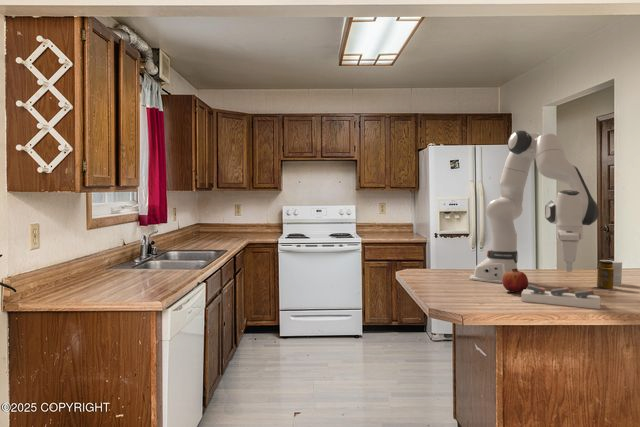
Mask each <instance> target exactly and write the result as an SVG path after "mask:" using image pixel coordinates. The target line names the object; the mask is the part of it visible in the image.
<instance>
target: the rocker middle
mask: <svg viewBox="0 0 640 427" xmlns="http://www.w3.org/2000/svg"><path fill="white" fill-rule="evenodd" d="M550 292H551V294H559V293H570V289H569V287H567V286H565V287H560V288H551V290H550Z"/></svg>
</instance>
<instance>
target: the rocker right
mask: <svg viewBox="0 0 640 427" xmlns="http://www.w3.org/2000/svg"><path fill="white" fill-rule="evenodd" d="M574 294H575V296H586V295H594V296H595V292H594V289H593V288H591V289H587V290H586V289H585V290H577V291H576V290H575V291H574Z"/></svg>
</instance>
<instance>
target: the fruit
mask: <svg viewBox="0 0 640 427" xmlns="http://www.w3.org/2000/svg"><path fill="white" fill-rule="evenodd" d="M502 282H503V283H502V286H503V288H504V289H505V290H506V291H508V292H511V293H514V294H516V293H522V291H523V290H524V289H526V290H528V289H527V288H528V285H529V279H528V277H527V275H526V274H525V273H524V272H523V271H519V270H518V268H517V269H512V271H509V272H506V273H505V274H504V276H503V278H502Z"/></svg>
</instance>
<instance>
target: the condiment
mask: <svg viewBox="0 0 640 427" xmlns="http://www.w3.org/2000/svg"><path fill="white" fill-rule="evenodd" d="M612 261H613V260H611V261H598V266H597V278H596V279H597V280H596V286H591V287H590V288H591V289H593V290H600V291H606V292H607V291H613V290H617V288H616V287H614V286H613V278H614V277H613V275H614V268H613V262H612Z"/></svg>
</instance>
